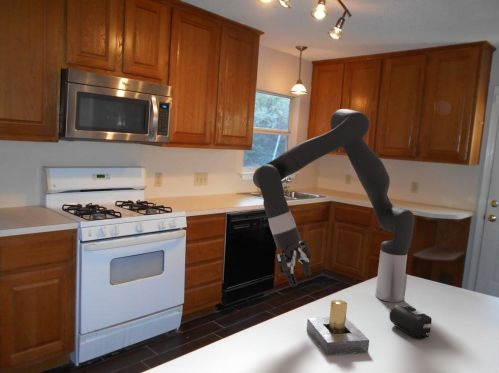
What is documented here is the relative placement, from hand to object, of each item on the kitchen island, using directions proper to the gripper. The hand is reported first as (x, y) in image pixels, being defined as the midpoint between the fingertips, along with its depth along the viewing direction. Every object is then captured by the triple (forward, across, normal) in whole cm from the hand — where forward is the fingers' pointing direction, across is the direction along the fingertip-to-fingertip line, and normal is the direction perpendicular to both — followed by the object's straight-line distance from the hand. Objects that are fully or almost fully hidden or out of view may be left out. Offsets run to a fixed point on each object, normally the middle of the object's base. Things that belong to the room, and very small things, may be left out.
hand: (301, 280), depth 121 cm
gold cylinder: (+17, -4, -7) cm, 19 cm away
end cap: (+26, +17, -19) cm, 36 cm away
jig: (+17, -4, -7) cm, 19 cm away
